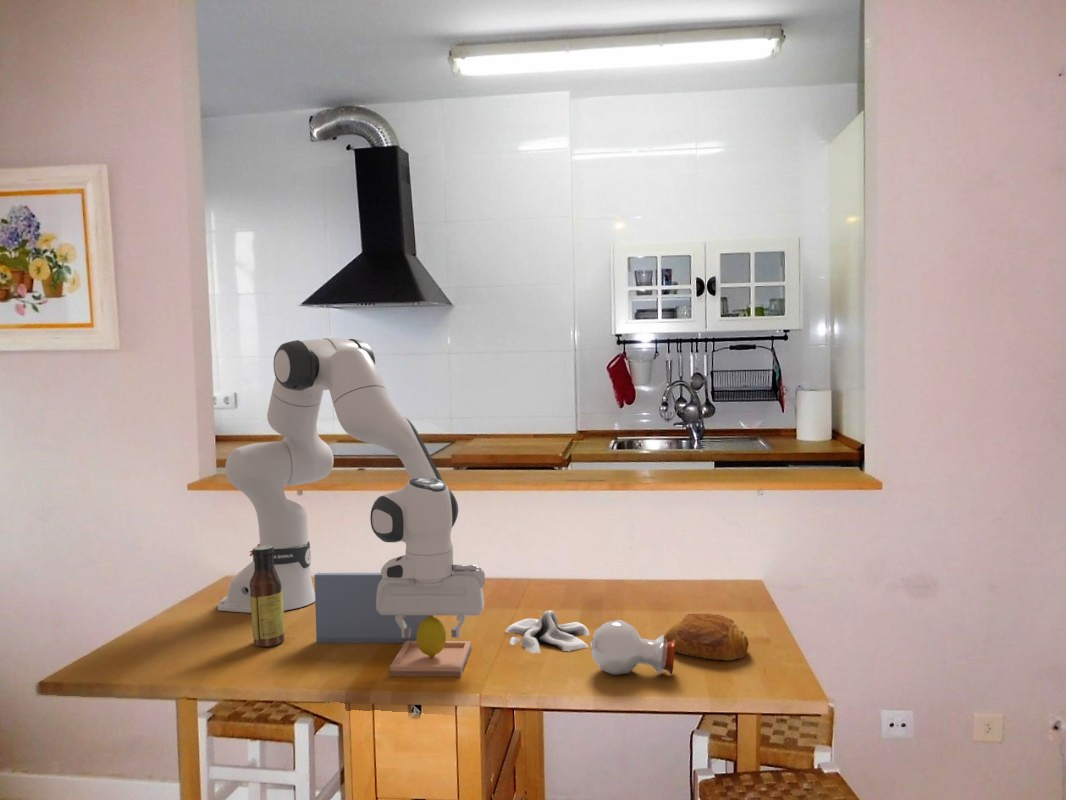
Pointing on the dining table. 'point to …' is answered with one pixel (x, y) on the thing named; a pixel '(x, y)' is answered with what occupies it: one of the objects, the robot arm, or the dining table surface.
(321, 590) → the screen
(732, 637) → the croissant
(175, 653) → the dining table surface
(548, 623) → the cloth
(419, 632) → the lemon
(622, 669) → the potion bottle
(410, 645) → the dish
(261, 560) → the sauce bottle
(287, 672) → the dining table surface
